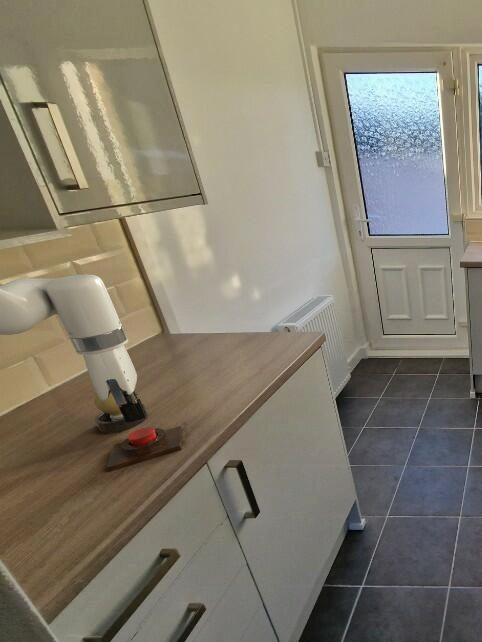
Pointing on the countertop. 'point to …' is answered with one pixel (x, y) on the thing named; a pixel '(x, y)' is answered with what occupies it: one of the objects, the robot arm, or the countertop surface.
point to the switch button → (142, 436)
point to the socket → (115, 423)
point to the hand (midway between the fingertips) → (136, 418)
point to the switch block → (145, 449)
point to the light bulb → (109, 407)
